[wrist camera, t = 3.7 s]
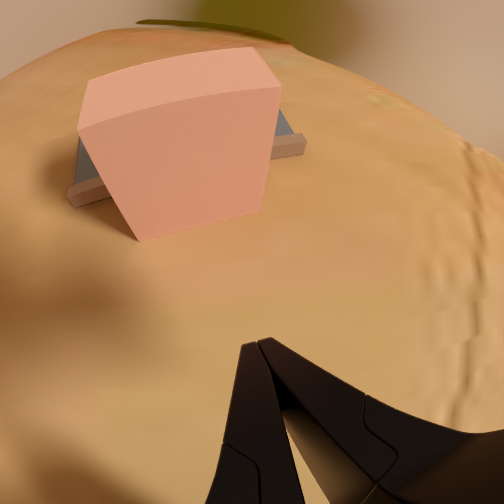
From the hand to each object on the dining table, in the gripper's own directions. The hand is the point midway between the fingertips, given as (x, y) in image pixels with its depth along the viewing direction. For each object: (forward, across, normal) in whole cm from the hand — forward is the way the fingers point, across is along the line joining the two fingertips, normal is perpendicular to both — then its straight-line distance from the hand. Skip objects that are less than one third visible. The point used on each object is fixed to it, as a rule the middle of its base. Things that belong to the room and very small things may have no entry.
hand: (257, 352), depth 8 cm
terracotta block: (+18, +1, -1) cm, 18 cm away
